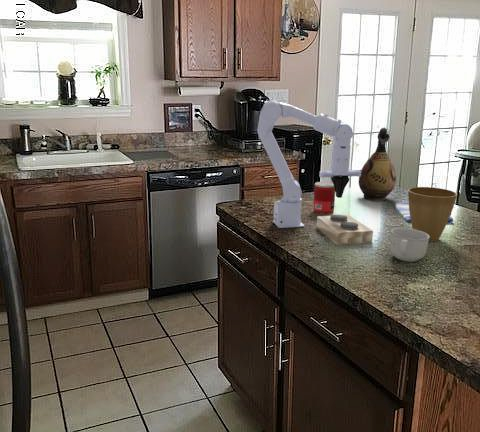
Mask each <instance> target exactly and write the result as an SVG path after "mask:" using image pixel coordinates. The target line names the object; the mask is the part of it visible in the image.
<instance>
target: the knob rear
mask: <svg viewBox="0 0 480 432" xmlns="http://www.w3.org/2000/svg"><path fill="white" fill-rule="evenodd" d="M344 215H345V214H331V215H330V216H331V219H333V221H334V222H345V220H347V216H344Z"/></svg>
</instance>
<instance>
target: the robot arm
mask: <svg viewBox="0 0 480 432" xmlns="http://www.w3.org/2000/svg"><path fill="white" fill-rule="evenodd" d="M290 117H291V118H293V119H295V120H296V119H297V120H299V121H302V122H304V123H306V124H310V125H312V127H313V130H314V131H317V132H320V133H321V134H324V135H327V136H329V137H334V139H333V140H334V143H333V150H332V164H331V165H332V169H331V170H320V171H319V174H318V175H319V178H321V179H323V178H330V180H331V183H333V185H334V188H335V198H340V199H341V198H342V197H343V194H344V191H345V189H346V187H347V185H348V184H349V182H350V178H351V177H358V178H359V177H361V170H359V169H350V159H351V142H352V141H351V140H352V138H353V137H354V136H353V135H354V132H353V131H354V130H353V128H352V127H351V125H349V124H347V123H346V122H344V121H342V120H341V119H335V118H333V117H330V116H329V114H328V113H319V114H317V115H314V114H313V113H310V112H309V111H306V110H303V109H301V108H299V107H296V106H294V105H291V104H288V103H285V102H282V101H279V102H278V100H275V99H269V100H267V101H265V102H264V104H263V106H262V108H261V109H260V112H259V119H258V124H257V135H258V136H259V139H260V141H261V143H262V145H263V149H265V151H266V154H267V156H268V158H269V160H270V163H271V164H272V166H273V168H274V169H273V170H274V171H275V173H276V175H277V177H278V179H279V181H280V185H281V186H282V193H283V195H282V197H281V198H280V200H276V201H274V203H273V220H272V222H273V224H275V226H276V227H277V229H278V228H279V229H281V228H283V229H284V228H285V229H286V228H301V227H302V228H304V227H305V224H304V223H302V205H303V204H302V203H303V199H302V198H301V197H302V195H303V194H302V193H303V191H302V188H301V185H300V182H299V181H298V180H296V178H294V175H293V174H292V172H291V170H290V168H289V166H288V163H287V161H286V159H285V157H284V155H283V153H282V150H281V149H280V146H279V144H278V142H277V140H276V138H275V136H274V134H273V129H274V127H275V124H276V122H277V121H278V120H279V119H280V118H282V119H285V118H290Z"/></svg>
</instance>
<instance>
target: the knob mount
mask: <svg viewBox="0 0 480 432" xmlns="http://www.w3.org/2000/svg"><path fill="white" fill-rule="evenodd" d="M343 215H344V216H347V220H345V222H353V223H357V224H358V227H357V228H355V229H352V230H344V229H343V227H342V226H341V223H342V222H334V221H333V219H331V215H319V216H316V229H318V230H319V231H320V232H321V233H322V234H324V235H325V236H326V237H327V238H328V239H329V240H330V241H331V242H333V244H335V245H338V246H339V245H341V246H343V245H357V244H358V245H359V244H372V243H373V237H374V235H373V234H374V230H373V229H371V228H370V227H368V226H367V225H366V224H364V223H362V222H361V221H359V220H358V219H356V218H354V217H353V216H352V215H350V214H343Z"/></svg>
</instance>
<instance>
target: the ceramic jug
mask: <svg viewBox="0 0 480 432" xmlns="http://www.w3.org/2000/svg"><path fill="white" fill-rule="evenodd" d="M377 139H378V141H377V147H376V149H375V151H374V152H372V154H371V155H370V157H369V158H368V159H367V161H366V162H365V163H364V164H363V166H362V168H361V170H360V171H361V177H358V186H359V189H360V191H361V193H362V194H363V199H364V200H368V201H374V202H375V201H378V202H379V201H380V202H381V201H385V200H386V199H387V197H388V196H389V195H390V193H392V192H393V191H394V189H395V187H396V184H397V175H396V171H395V167H394V165H393V163H392V160H391V159H390V156H389V154H388V152H387V149H386V143H388V142H389V139H390V134H389V133H388V128H386V127H381V128H380V129H379V132H378V133H377Z"/></svg>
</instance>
